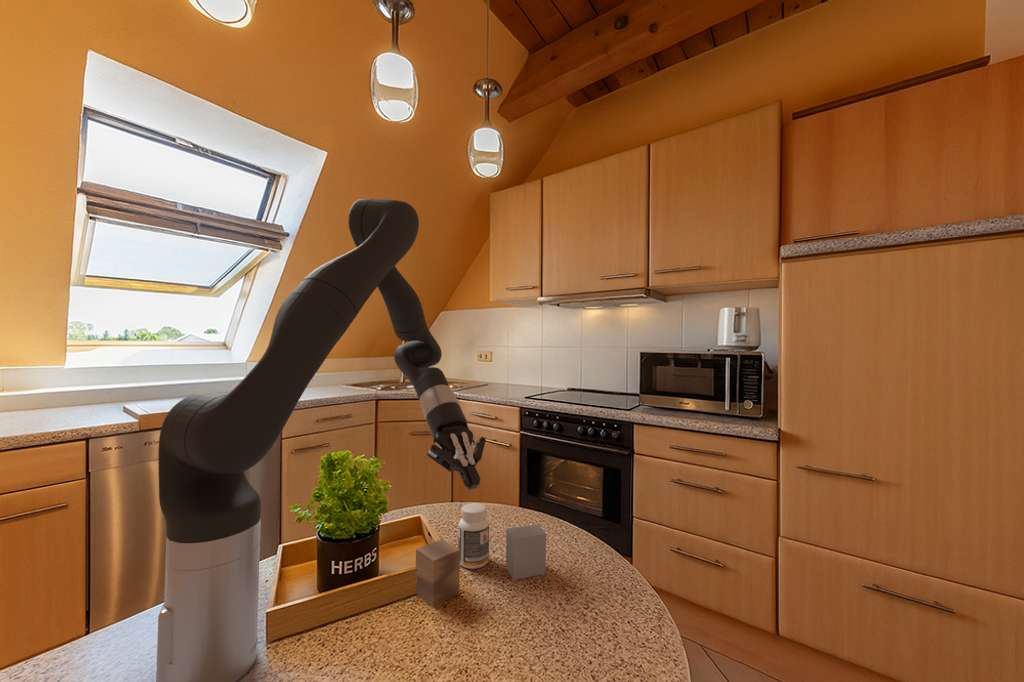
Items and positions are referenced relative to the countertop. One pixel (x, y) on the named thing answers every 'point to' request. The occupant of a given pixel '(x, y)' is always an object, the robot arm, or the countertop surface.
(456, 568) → the walnut block
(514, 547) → the slate block
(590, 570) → the countertop surface
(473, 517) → the pill bottle
